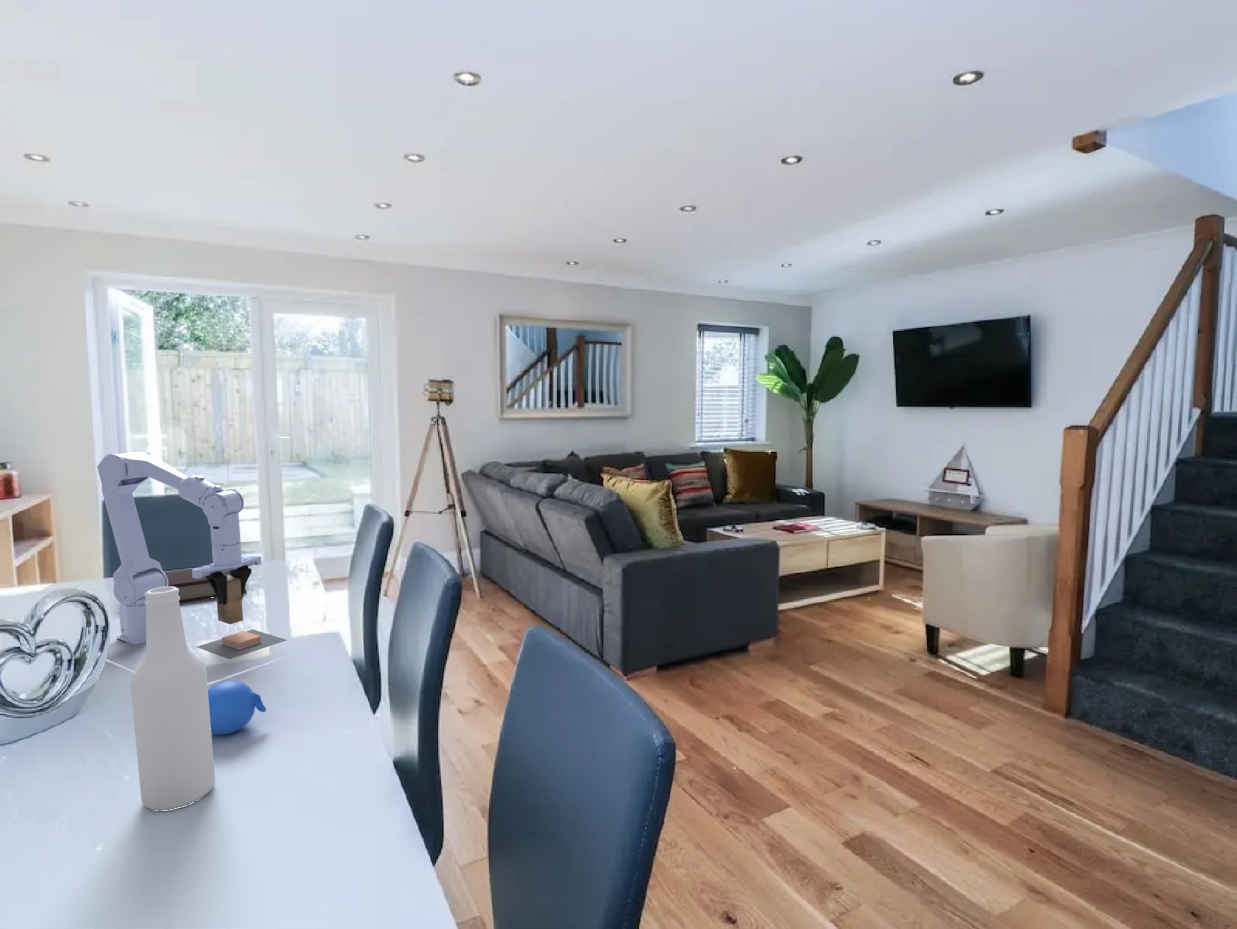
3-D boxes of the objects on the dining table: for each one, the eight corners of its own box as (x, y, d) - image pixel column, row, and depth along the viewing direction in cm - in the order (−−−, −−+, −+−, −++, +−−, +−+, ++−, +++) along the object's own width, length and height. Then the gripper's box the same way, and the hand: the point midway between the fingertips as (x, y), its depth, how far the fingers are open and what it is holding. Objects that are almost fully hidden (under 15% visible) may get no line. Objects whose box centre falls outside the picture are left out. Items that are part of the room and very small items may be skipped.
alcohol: (134, 820, 90) (113, 603, 87) (150, 786, 98) (131, 585, 95) (210, 804, 94) (193, 594, 91) (219, 772, 102) (203, 578, 99)
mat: (196, 648, 152) (196, 646, 152) (253, 630, 163) (253, 629, 163) (229, 660, 145) (229, 658, 145) (287, 641, 156) (286, 639, 156)
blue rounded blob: (281, 707, 123) (278, 662, 122) (258, 739, 111) (254, 691, 110) (209, 713, 121) (205, 668, 120) (178, 747, 109) (174, 697, 108)
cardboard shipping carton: (218, 620, 156) (215, 578, 155) (231, 616, 158) (228, 575, 157) (229, 624, 153) (227, 581, 152) (243, 620, 156) (240, 578, 155)
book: (243, 579, 212) (241, 561, 211) (246, 594, 195) (245, 574, 194) (134, 594, 197) (132, 574, 196) (127, 612, 181) (125, 590, 180)
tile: (221, 637, 154) (238, 643, 150) (243, 630, 158) (260, 636, 154) (222, 643, 154) (239, 649, 150) (244, 636, 158) (261, 642, 154)
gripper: (201, 552, 145) (206, 613, 147) (267, 539, 158) (271, 595, 159) (185, 548, 149) (190, 608, 151) (250, 536, 161) (254, 591, 163)
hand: (230, 601), depth 155 cm, fingers closed on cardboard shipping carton, 3 cm apart
